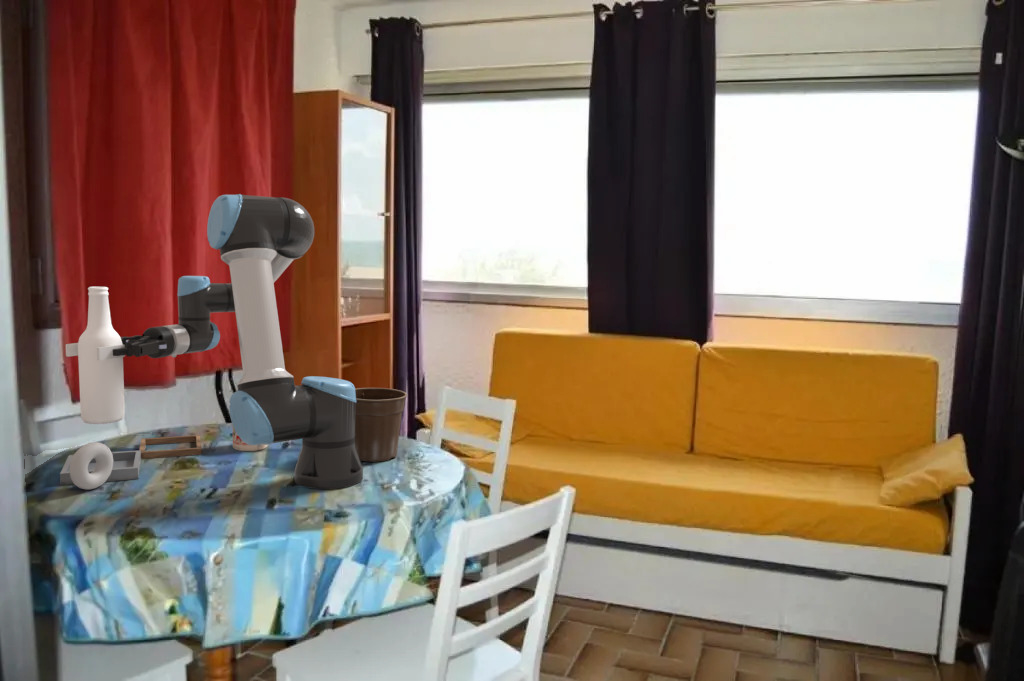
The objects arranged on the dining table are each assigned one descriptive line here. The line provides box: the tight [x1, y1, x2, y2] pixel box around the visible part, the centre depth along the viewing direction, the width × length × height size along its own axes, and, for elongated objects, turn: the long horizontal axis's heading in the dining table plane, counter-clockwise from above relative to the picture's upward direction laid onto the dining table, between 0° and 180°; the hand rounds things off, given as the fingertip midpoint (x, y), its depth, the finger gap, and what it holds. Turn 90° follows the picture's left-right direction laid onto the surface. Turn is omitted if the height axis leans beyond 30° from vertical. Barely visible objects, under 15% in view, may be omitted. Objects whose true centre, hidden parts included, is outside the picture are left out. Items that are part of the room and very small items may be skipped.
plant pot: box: [355, 387, 408, 463], centre depth 195 cm, size 16×16×16 cm
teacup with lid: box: [231, 424, 269, 452], centre depth 199 cm, size 12×9×12 cm
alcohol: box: [77, 286, 126, 425], centre depth 173 cm, size 9×9×30 cm
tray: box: [59, 450, 142, 486], centre depth 175 cm, size 15×15×2 cm
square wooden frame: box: [139, 434, 203, 460], centre depth 196 cm, size 14×14×2 cm
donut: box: [69, 441, 113, 491], centre depth 164 cm, size 10×4×10 cm, turn 161°
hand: (82, 352), depth 169 cm, fingers closed on alcohol, 9 cm apart
